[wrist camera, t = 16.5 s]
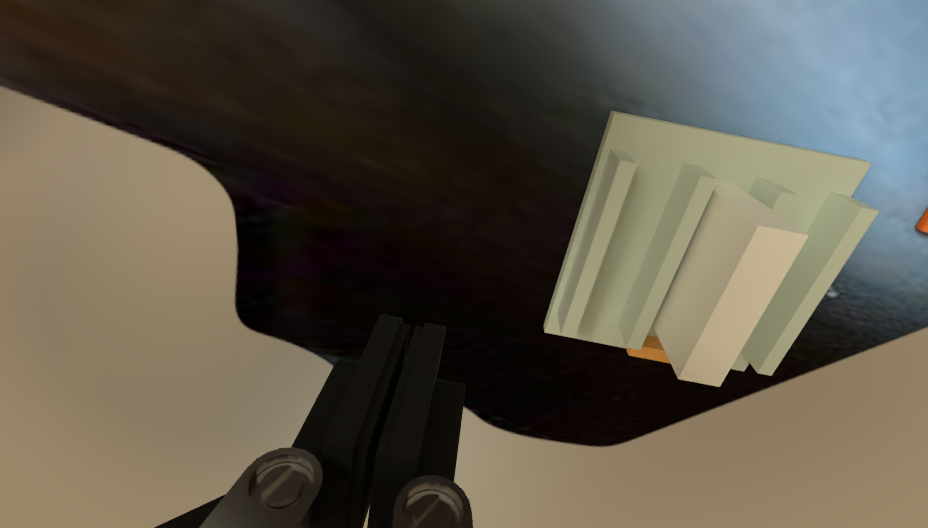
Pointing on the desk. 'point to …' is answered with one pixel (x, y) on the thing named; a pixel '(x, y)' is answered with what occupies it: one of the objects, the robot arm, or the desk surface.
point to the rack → (674, 221)
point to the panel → (724, 284)
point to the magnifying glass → (923, 223)
